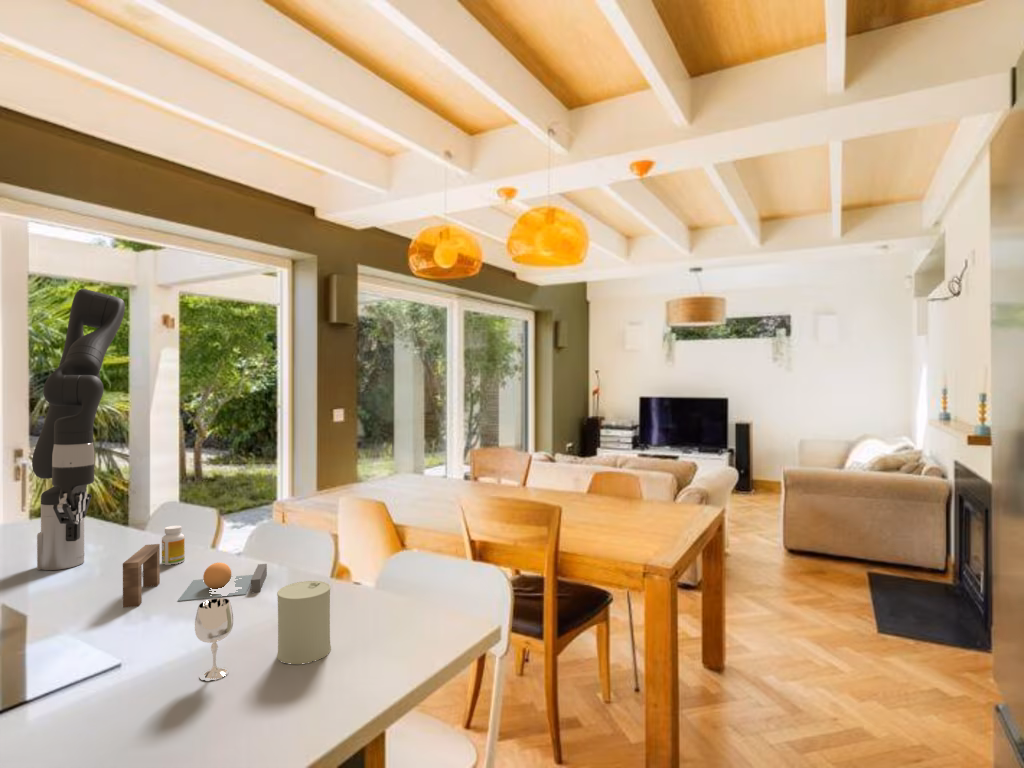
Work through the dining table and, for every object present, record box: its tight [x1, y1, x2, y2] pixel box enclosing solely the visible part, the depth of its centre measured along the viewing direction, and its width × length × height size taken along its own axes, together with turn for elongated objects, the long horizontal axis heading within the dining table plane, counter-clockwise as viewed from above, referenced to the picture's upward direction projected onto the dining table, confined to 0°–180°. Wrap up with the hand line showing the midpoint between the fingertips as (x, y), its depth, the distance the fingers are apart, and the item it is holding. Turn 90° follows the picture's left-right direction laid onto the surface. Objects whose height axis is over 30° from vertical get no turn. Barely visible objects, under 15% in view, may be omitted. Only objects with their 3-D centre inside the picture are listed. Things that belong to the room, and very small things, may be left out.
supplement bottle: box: [161, 525, 186, 566], centre depth 156 cm, size 5×5×10 cm
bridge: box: [122, 543, 161, 609], centre depth 132 cm, size 3×15×10 cm, turn 17°
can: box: [276, 580, 332, 665], centre depth 103 cm, size 9×9×12 cm
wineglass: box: [194, 597, 234, 679], centre depth 95 cm, size 6×6×12 cm
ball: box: [202, 562, 232, 589], centre depth 136 cm, size 6×6×6 cm
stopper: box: [250, 563, 268, 594], centre depth 139 cm, size 2×12×3 cm, turn 17°
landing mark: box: [177, 574, 253, 602], centre depth 136 cm, size 14×14×1 cm
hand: (72, 540), depth 128 cm, fingers closed
